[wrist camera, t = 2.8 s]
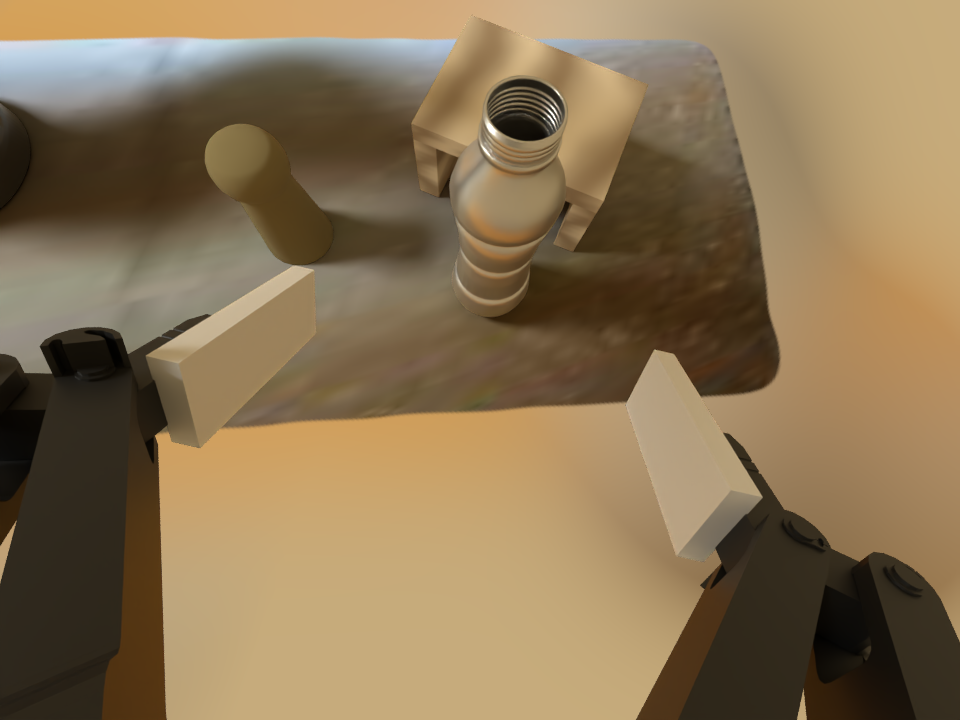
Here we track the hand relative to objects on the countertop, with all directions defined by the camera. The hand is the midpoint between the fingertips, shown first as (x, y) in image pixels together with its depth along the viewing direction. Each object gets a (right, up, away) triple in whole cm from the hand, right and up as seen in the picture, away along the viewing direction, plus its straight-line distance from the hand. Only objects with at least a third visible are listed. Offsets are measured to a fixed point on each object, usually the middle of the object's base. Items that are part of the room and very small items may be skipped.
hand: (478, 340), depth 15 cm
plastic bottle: (+1, +6, +21) cm, 22 cm away
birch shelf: (+4, +18, +24) cm, 30 cm away
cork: (-17, +11, +21) cm, 29 cm away
